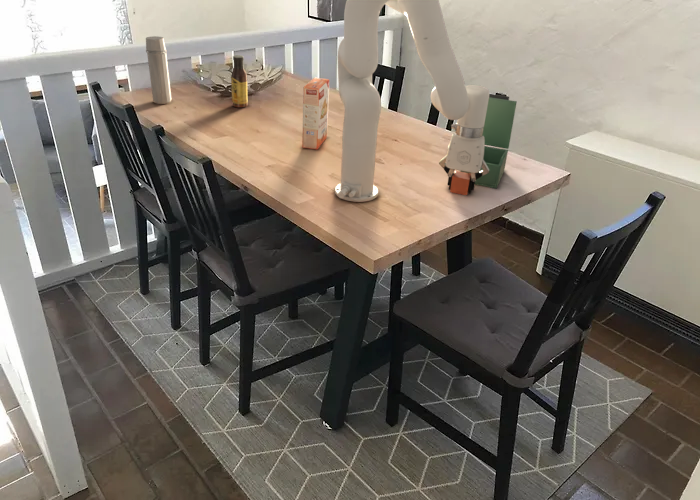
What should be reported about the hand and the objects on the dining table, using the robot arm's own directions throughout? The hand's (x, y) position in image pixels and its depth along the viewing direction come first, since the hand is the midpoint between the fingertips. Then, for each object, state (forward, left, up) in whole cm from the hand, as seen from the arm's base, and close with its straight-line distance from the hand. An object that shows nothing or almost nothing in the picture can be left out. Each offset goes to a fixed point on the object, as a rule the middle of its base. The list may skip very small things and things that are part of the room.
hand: (460, 189), depth 170 cm
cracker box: (+17, +55, -1) cm, 58 cm away
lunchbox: (+14, -4, 0) cm, 15 cm away
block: (0, 0, 0) cm, 0 cm away
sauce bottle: (+42, +100, -1) cm, 108 cm away
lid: (+20, -4, +15) cm, 25 cm away
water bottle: (+30, +129, -1) cm, 132 cm away
